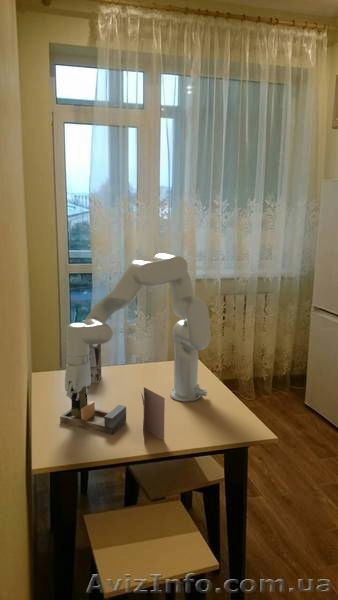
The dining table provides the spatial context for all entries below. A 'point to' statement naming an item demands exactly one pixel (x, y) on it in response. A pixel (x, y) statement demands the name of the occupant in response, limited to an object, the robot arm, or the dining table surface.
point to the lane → (98, 420)
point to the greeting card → (153, 413)
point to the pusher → (88, 411)
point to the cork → (82, 402)
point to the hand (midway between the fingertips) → (79, 406)
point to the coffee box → (95, 362)
